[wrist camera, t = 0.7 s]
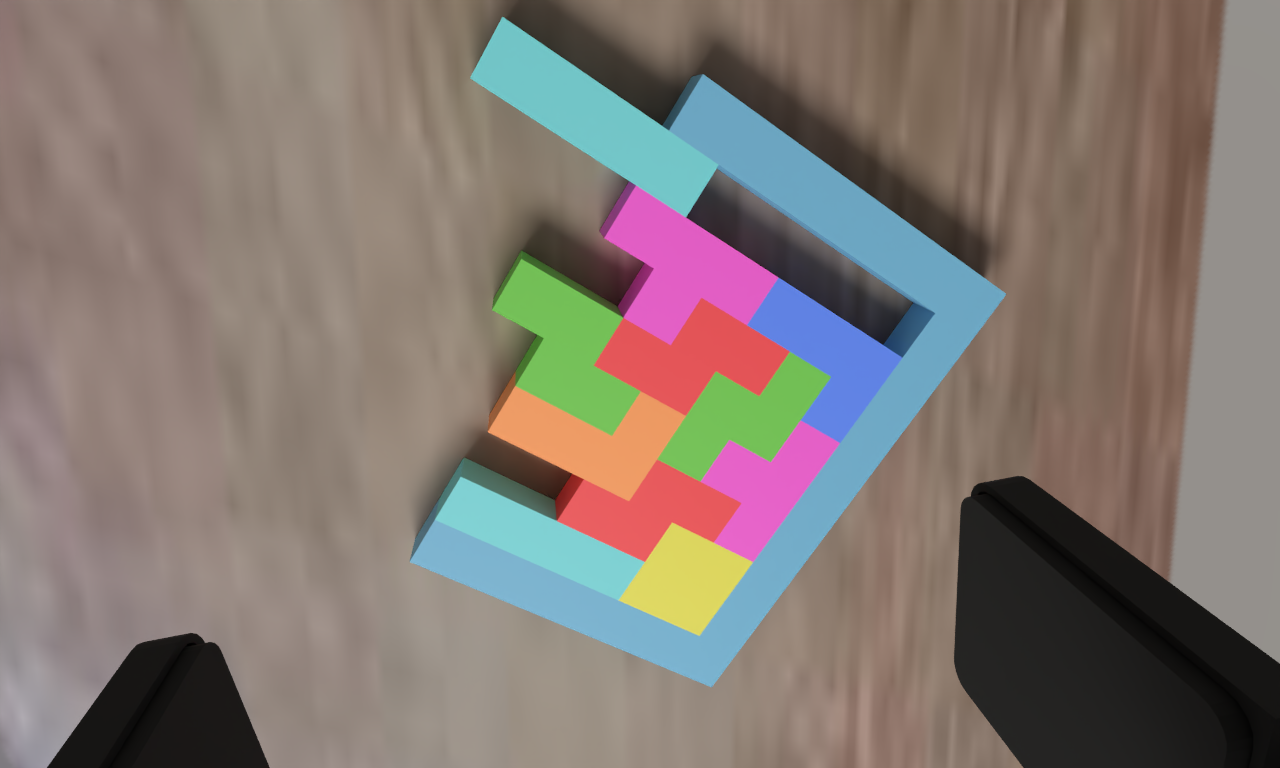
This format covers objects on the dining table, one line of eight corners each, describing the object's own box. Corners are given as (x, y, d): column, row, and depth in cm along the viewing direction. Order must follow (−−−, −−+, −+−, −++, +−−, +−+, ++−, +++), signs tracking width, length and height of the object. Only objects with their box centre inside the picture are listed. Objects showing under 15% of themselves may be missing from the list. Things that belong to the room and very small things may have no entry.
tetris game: (975, 282, 41) (534, -35, 33) (1006, 294, 39) (536, -47, 30) (700, 655, 47) (267, 469, 39) (711, 687, 45) (249, 495, 36)
